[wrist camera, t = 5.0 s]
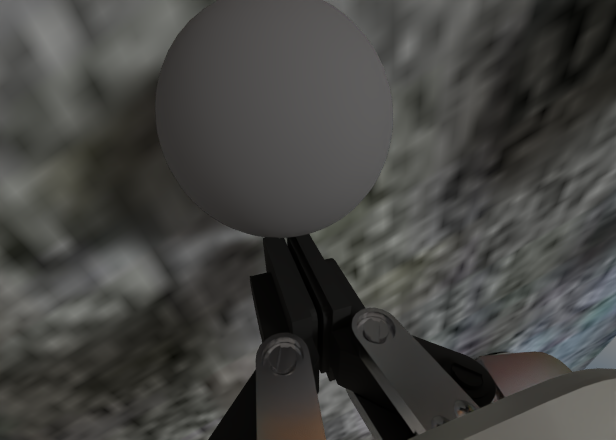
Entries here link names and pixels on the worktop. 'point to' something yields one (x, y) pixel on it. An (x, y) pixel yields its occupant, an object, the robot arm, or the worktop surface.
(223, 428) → the robot arm
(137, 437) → the worktop surface
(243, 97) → the grey ball
